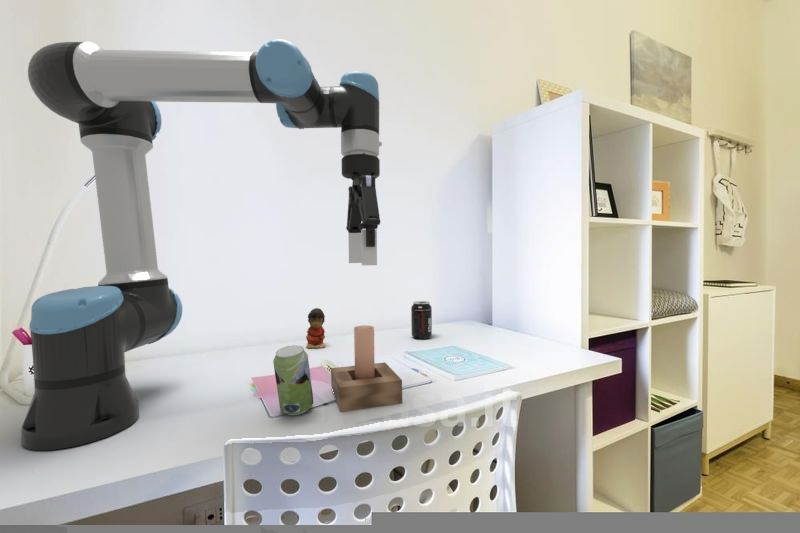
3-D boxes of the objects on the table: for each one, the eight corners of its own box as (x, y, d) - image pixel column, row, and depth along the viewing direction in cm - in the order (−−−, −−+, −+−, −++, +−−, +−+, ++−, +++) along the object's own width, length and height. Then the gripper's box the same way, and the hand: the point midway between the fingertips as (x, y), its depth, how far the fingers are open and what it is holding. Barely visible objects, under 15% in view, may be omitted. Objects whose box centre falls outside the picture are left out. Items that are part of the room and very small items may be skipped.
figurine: (302, 346, 116) (301, 308, 115) (318, 343, 120) (317, 306, 119) (312, 350, 111) (311, 310, 111) (328, 347, 115) (328, 308, 114)
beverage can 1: (319, 405, 72) (317, 343, 71) (300, 422, 65) (299, 353, 64) (289, 402, 73) (287, 341, 73) (267, 419, 66) (266, 351, 65)
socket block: (340, 411, 69) (339, 387, 69) (331, 388, 80) (331, 368, 80) (402, 402, 72) (401, 380, 72) (385, 382, 84) (385, 362, 84)
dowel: (357, 400, 74) (356, 330, 73) (353, 393, 78) (352, 326, 77) (377, 398, 75) (376, 328, 74) (372, 390, 79) (371, 324, 78)
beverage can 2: (435, 338, 125) (435, 302, 124) (418, 341, 121) (418, 304, 121) (424, 334, 131) (424, 300, 130) (407, 337, 127) (407, 301, 127)
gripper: (397, 141, 64) (398, 266, 65) (365, 170, 87) (366, 261, 88) (353, 137, 61) (355, 266, 62) (333, 168, 85) (334, 262, 86)
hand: (361, 264), depth 75 cm, fingers open, 13 cm apart
